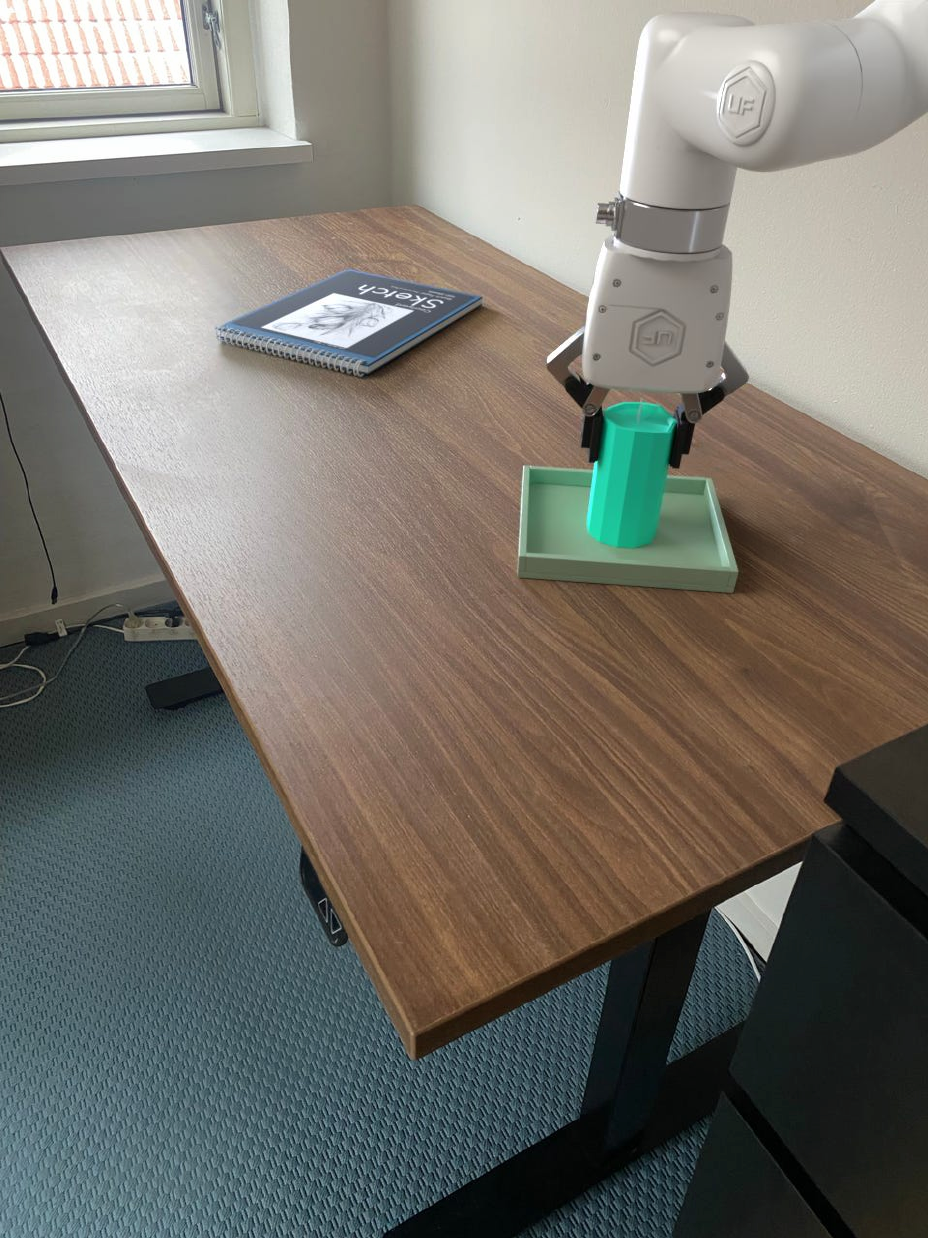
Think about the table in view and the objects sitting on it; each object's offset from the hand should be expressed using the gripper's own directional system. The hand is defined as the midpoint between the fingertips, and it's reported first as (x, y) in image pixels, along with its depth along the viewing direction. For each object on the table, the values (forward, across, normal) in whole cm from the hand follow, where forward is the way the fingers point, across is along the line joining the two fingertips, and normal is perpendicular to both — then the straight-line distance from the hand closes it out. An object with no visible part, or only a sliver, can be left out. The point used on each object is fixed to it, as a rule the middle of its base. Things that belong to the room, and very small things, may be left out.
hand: (632, 456), depth 75 cm
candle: (+7, 0, 0) cm, 7 cm away
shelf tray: (+8, 0, 0) cm, 8 cm away
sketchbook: (+8, -31, +47) cm, 57 cm away
